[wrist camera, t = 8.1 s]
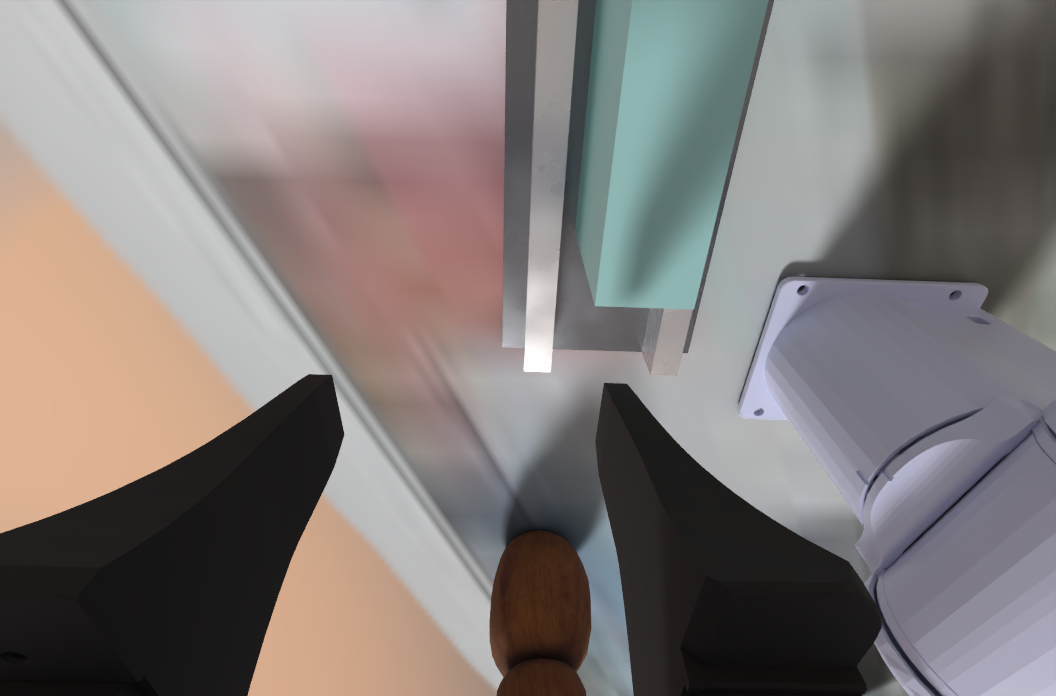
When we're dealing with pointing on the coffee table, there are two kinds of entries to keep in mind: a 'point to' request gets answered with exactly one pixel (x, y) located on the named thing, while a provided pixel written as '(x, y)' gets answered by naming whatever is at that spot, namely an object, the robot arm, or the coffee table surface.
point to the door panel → (660, 142)
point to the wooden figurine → (540, 617)
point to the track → (568, 199)
